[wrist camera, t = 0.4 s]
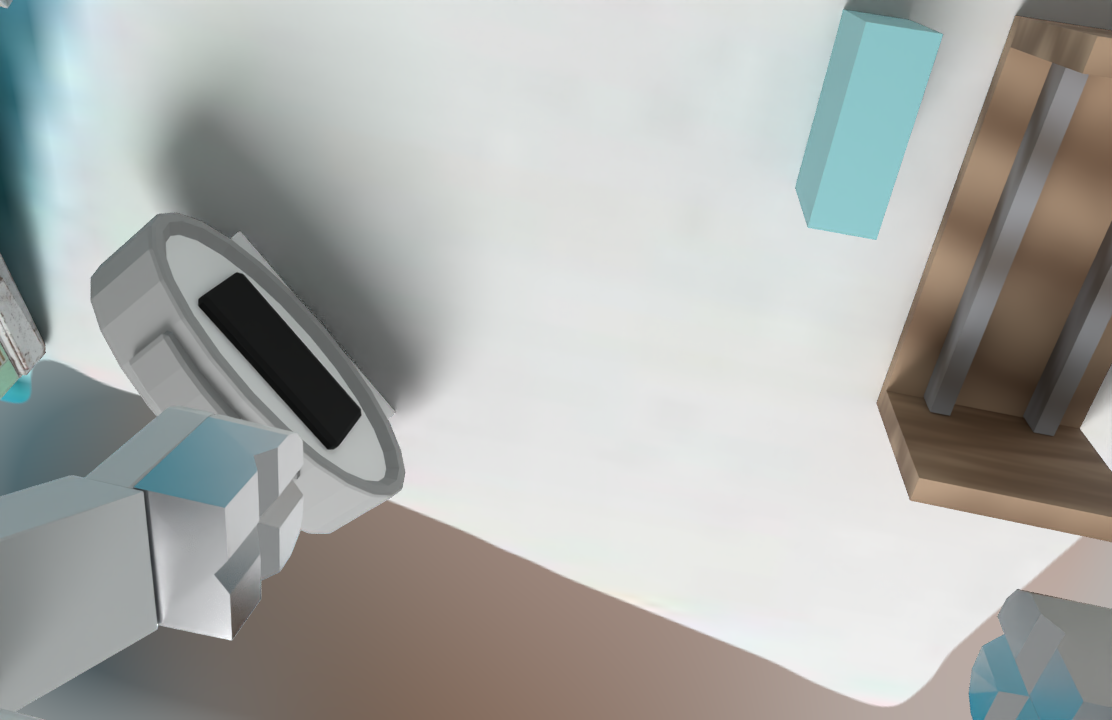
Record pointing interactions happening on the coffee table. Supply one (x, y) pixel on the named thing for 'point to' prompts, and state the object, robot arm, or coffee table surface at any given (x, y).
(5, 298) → the ray gun
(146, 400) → the alarm clock
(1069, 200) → the cabinet base
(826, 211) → the door panel
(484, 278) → the coffee table surface
